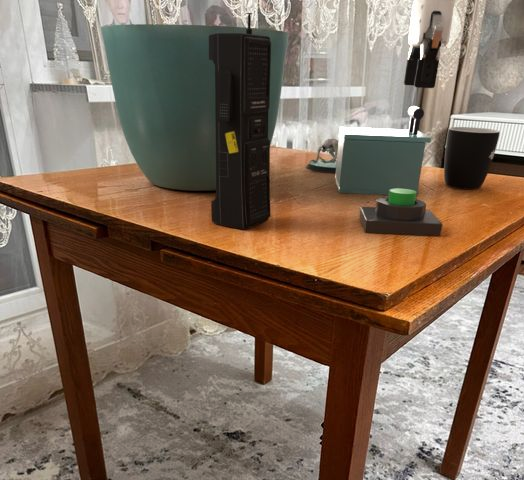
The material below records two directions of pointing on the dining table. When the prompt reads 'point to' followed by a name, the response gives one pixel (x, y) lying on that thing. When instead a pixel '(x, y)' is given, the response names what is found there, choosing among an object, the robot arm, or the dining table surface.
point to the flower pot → (176, 97)
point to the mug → (468, 156)
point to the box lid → (390, 131)
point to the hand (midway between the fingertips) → (418, 86)
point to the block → (399, 219)
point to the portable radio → (241, 128)
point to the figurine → (325, 165)
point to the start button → (402, 196)
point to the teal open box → (378, 166)
